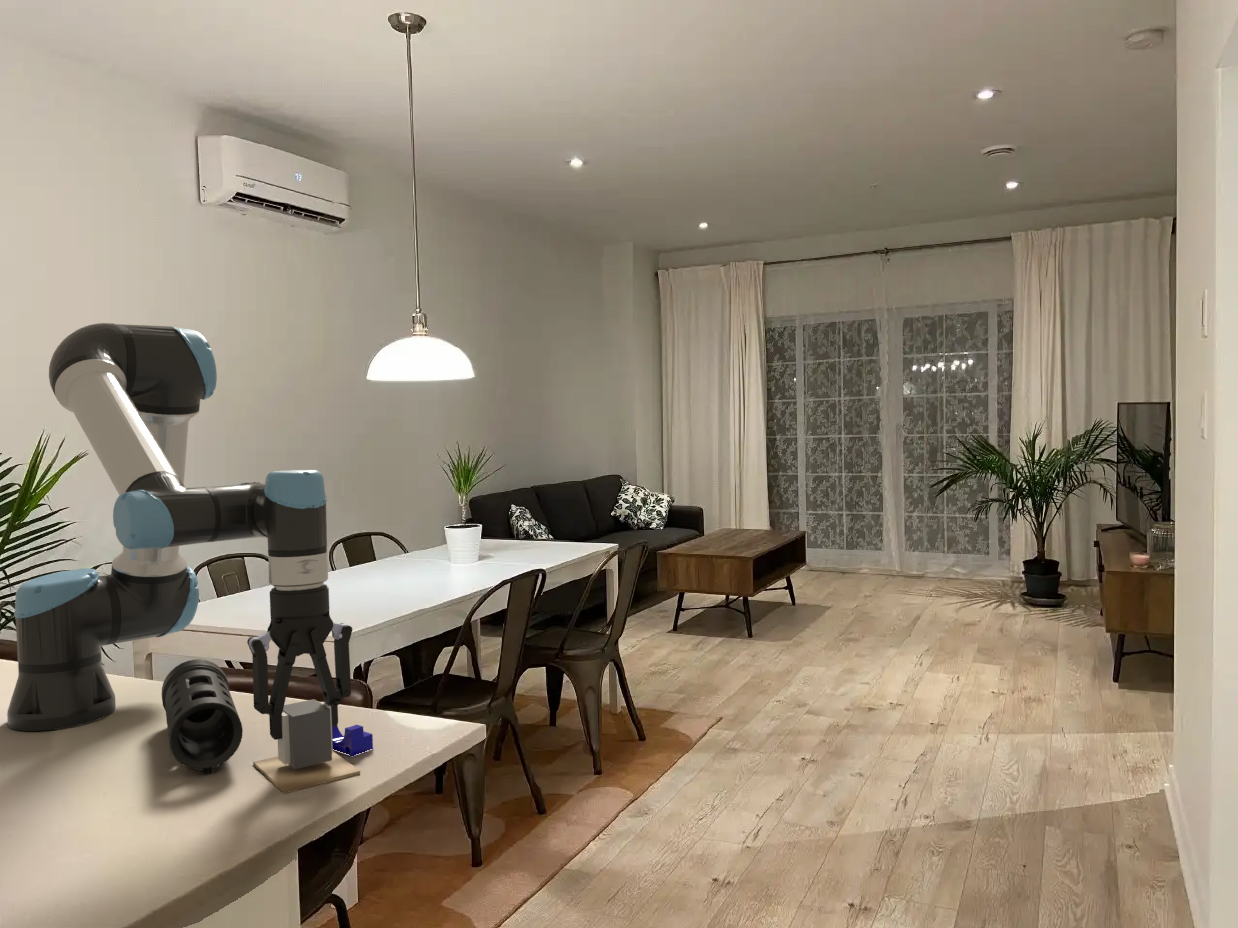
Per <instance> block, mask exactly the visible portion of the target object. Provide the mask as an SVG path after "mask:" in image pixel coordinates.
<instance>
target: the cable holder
mask: <svg viewBox="0 0 1238 928" xmlns="http://www.w3.org/2000/svg"><path fill="white" fill-rule="evenodd" d="M373 741H374V739H373V733H370V732H368V731H364V726H362V725H361V724H354V725H351V726H347V727H345V728H344V734H342V732H341V731H340V729H339V726H338V725H337V726H336V727H332V744H333V749H334V750H337V751H340V752H343V753H346V754H349V755H350V756H354V755H356V754H359V753H362V752H365V751H367V750H370V749H373V750H374V744H373V743H374V742H373ZM350 756H349V757H350Z"/></svg>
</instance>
